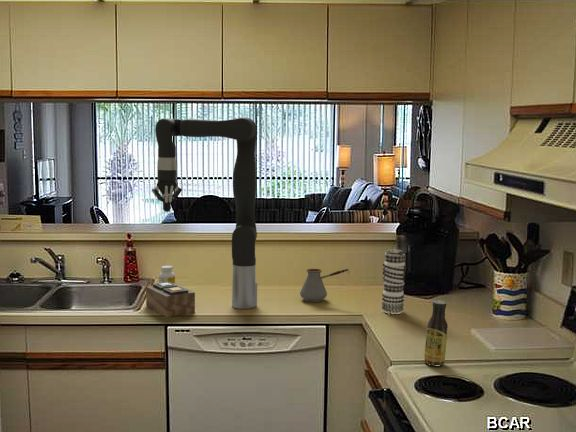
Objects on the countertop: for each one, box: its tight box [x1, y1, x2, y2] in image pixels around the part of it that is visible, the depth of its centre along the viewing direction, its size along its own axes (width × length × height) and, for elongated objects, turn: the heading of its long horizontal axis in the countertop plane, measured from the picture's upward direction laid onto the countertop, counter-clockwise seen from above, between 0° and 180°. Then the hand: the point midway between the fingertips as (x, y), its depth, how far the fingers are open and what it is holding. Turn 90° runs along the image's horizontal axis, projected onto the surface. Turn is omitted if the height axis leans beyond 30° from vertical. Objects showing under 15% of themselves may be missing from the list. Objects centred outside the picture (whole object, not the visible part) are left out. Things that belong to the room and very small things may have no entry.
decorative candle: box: [381, 248, 407, 313], centre depth 264 cm, size 9×9×25 cm
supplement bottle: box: [158, 265, 176, 284], centre depth 281 cm, size 7×7×13 cm
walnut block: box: [145, 282, 196, 318], centre depth 261 cm, size 12×18×9 cm, turn 36°
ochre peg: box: [168, 287, 183, 291], centre depth 258 cm, size 4×4×8 cm
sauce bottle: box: [423, 300, 449, 366], centre depth 206 cm, size 6×6×20 cm
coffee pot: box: [299, 268, 351, 303], centre depth 279 cm, size 21×12×15 cm, turn 65°
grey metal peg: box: [158, 283, 172, 287], centre depth 265 cm, size 4×4×8 cm
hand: (166, 211), depth 270 cm, fingers closed
